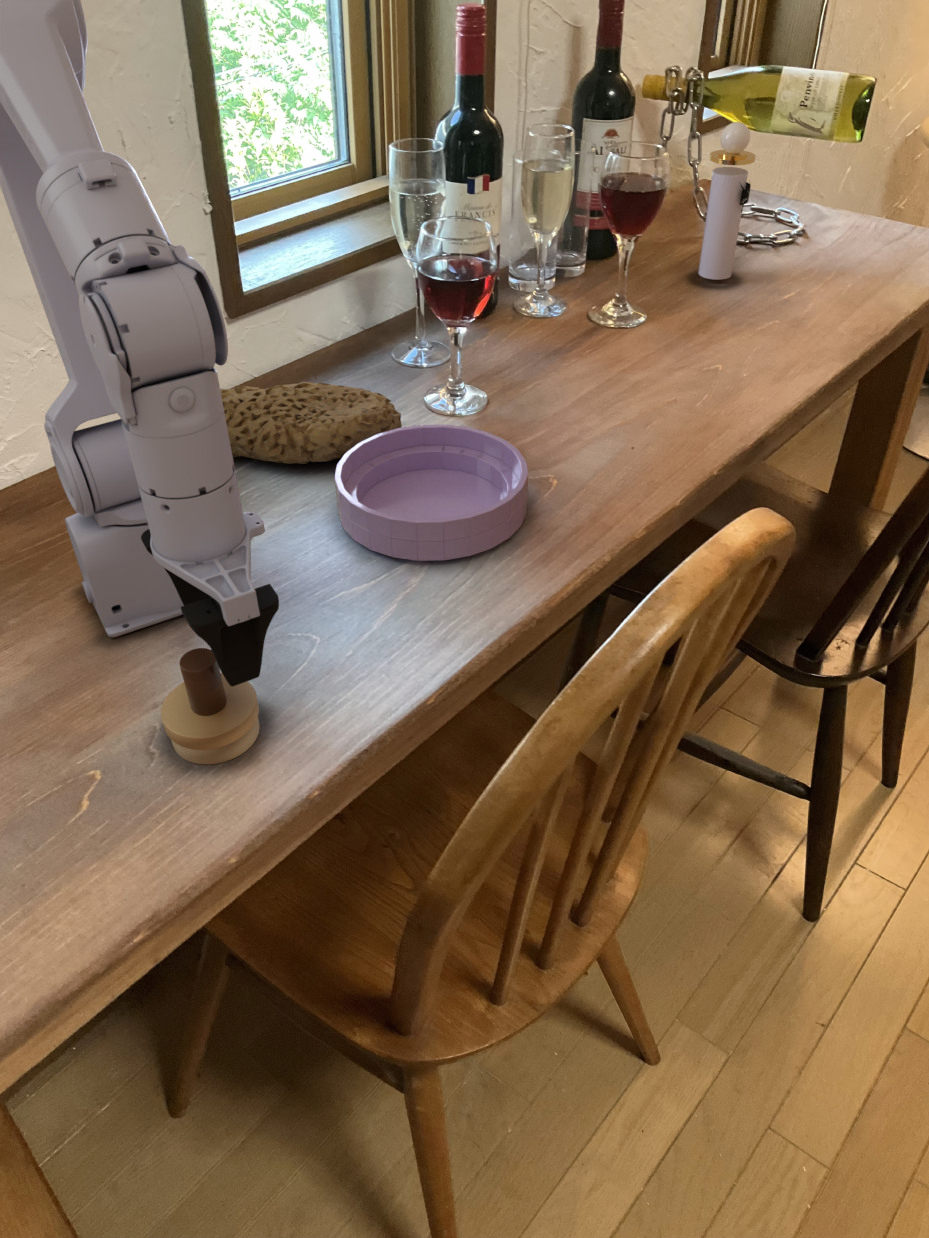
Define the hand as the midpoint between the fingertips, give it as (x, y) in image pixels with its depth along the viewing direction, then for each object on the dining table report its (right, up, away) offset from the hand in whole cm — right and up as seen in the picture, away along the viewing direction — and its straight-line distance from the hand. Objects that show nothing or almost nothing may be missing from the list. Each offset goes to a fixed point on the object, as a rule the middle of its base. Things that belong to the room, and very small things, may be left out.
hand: (224, 646), depth 66 cm
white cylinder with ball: (+52, +49, +69) cm, 99 cm away
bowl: (+14, +12, +23) cm, 29 cm away
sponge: (0, +19, +32) cm, 37 cm away
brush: (-1, -6, +1) cm, 6 cm away
